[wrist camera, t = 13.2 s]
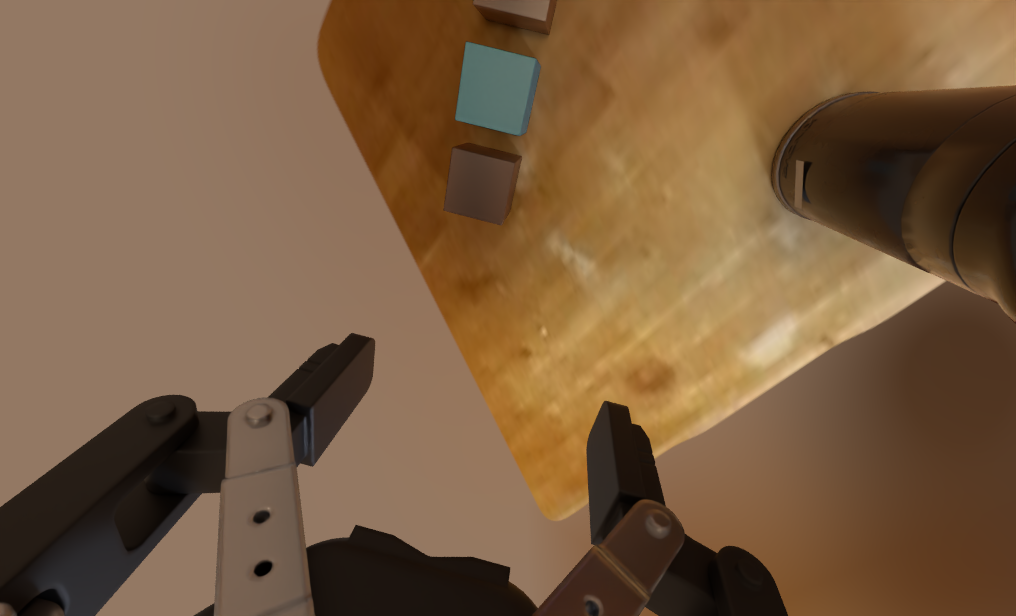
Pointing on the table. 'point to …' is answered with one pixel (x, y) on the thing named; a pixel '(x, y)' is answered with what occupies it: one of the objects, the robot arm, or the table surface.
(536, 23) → the walnut block
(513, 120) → the teal block
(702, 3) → the table surface
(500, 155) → the walnut block
